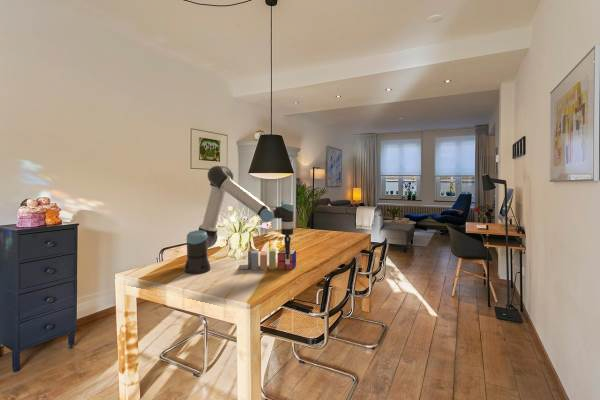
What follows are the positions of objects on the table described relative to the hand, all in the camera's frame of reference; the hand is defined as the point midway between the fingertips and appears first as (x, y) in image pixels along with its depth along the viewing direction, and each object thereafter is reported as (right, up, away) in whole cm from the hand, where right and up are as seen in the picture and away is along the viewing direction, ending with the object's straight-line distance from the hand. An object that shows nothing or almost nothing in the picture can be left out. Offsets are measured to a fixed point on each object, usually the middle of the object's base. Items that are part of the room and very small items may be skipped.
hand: (287, 261), depth 203 cm
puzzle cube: (0, -4, 0) cm, 4 cm away
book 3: (-9, -4, 0) cm, 10 cm away
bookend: (-26, -4, -2) cm, 27 cm away
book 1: (-20, -4, -1) cm, 21 cm away
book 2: (-15, -4, -1) cm, 15 cm away
